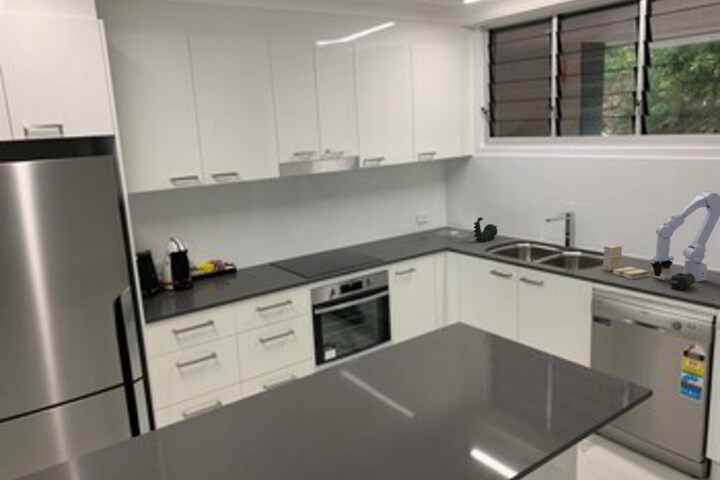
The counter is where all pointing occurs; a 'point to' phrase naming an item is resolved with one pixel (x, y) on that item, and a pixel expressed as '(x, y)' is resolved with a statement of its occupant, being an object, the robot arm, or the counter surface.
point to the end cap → (682, 281)
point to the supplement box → (612, 257)
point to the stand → (631, 272)
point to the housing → (662, 273)
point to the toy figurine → (487, 233)
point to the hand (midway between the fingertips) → (660, 275)
